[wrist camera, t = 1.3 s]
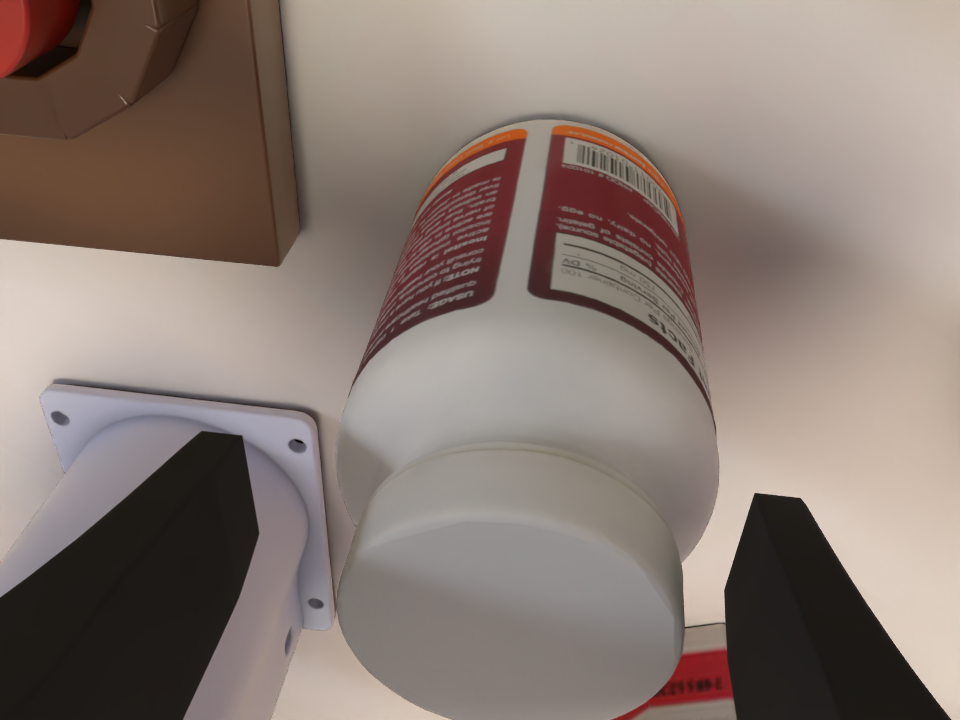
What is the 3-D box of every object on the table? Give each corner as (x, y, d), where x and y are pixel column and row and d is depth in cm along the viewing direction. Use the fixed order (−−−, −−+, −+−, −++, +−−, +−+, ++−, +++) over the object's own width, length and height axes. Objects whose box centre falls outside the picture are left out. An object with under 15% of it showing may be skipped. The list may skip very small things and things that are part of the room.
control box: (301, 232, 21) (253, 311, 18) (-12, 202, 22) (-105, 274, 19) (256, -248, 15) (176, -239, 13) (-168, -271, 16) (-333, -268, 13)
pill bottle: (443, 352, 23) (333, 756, 14) (395, 124, 19) (206, 472, 10) (689, 340, 22) (738, 773, 13) (685, 95, 18) (751, 459, 9)
